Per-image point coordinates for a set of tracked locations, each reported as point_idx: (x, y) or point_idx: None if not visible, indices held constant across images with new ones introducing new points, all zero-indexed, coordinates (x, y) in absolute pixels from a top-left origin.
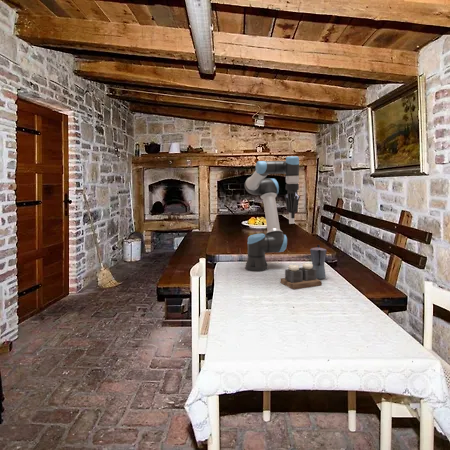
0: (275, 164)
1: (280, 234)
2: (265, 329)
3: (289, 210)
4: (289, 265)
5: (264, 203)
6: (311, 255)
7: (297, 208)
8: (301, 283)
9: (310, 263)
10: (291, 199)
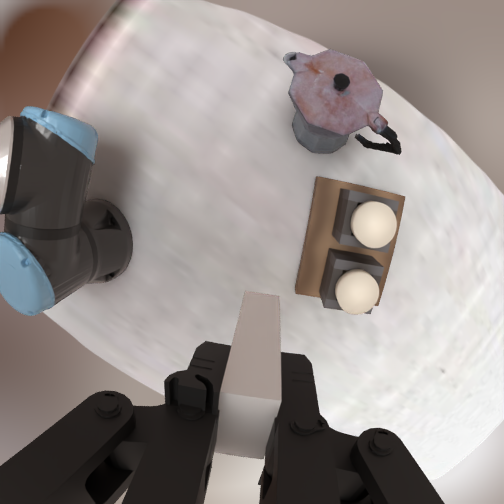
0: None
1: (31, 151)
2: (448, 434)
3: (206, 482)
4: (342, 305)
5: None
6: (316, 131)
7: (431, 485)
8: (383, 274)
9: (372, 202)
10: None
